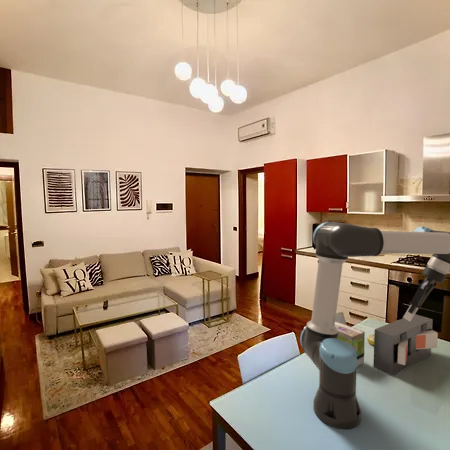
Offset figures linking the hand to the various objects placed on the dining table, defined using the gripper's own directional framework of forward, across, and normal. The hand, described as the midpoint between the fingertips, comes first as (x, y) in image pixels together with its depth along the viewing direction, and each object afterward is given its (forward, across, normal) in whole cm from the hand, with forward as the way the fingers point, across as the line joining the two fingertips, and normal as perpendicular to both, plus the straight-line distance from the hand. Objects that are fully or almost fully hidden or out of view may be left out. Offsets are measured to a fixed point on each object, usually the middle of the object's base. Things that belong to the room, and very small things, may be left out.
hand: (406, 319), depth 119 cm
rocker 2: (+11, +23, -7) cm, 26 cm away
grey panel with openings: (+20, +16, -4) cm, 26 cm away
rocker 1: (+16, +6, -5) cm, 18 cm away
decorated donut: (+23, +25, +9) cm, 35 cm away
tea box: (+31, -2, +12) cm, 34 cm away
